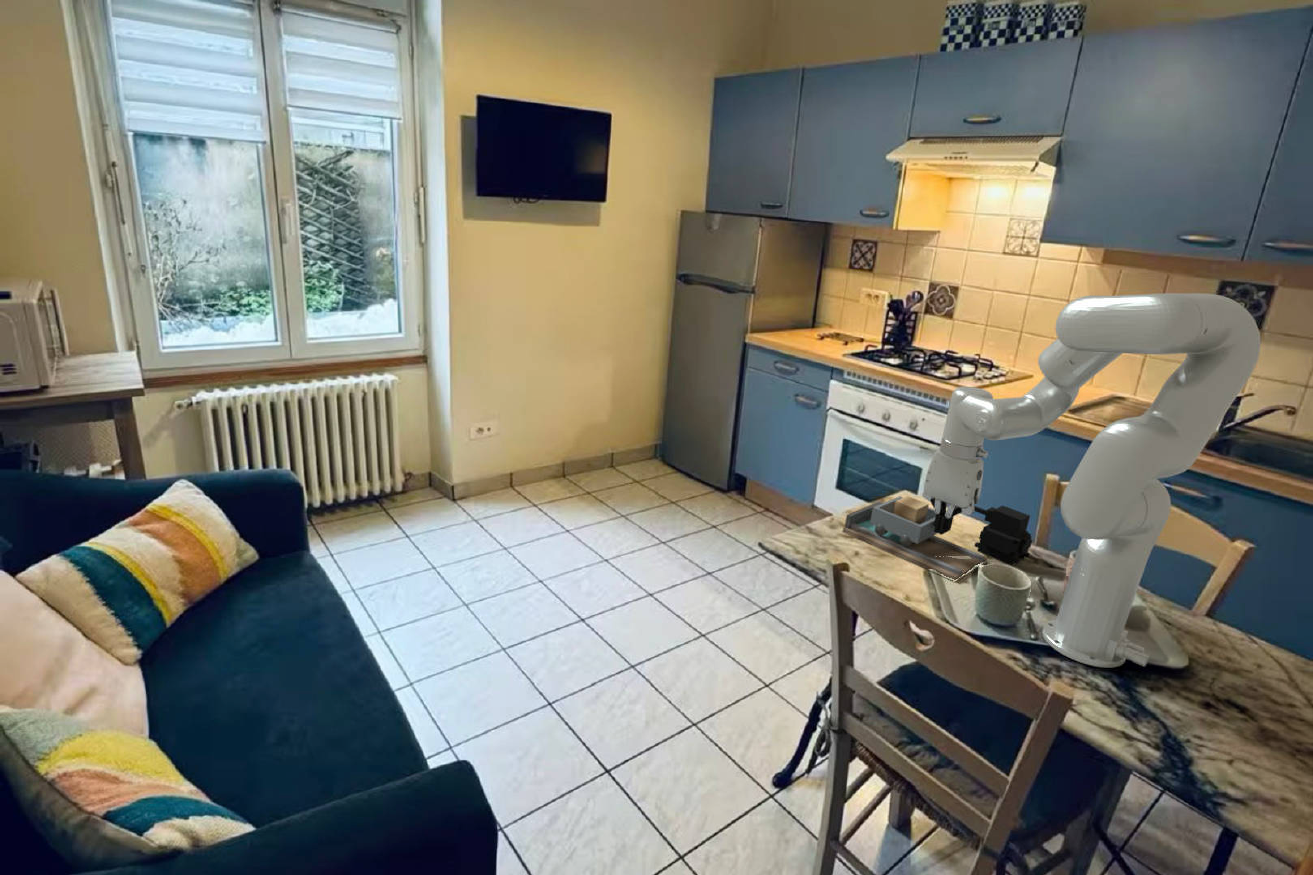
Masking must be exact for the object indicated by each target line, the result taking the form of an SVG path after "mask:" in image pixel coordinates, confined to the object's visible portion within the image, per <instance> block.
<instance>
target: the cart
mask: <svg viewBox="0 0 1313 875" xmlns="http://www.w3.org/2000/svg"><path fill="white" fill-rule="evenodd" d="M902 498H904V497H903V496H897V497H895V498H892V499H888V500H887V501H885V502H881V503H882V504H880V505H878V506H875V507H873V510H872V515H871V521H870V524H872V525H875V526H876V527H875V532H876V533H877V534H878V535H880V536H882V535H884V534H886V533H887V532H888V531H889V532H891V533H894V534H896V535H898V536H901V538H900V542H901V544H902V545H903V546H905V547H908V546H910V545H912V544H913V542H915V543H917V544H918V543H920V542H922V541H924V540H926V539H928V538H930V537H932V536H933V535H934V536H936V535H938V533H936V532H934V529H935V526H934V521H935V517H936V513H935V512H934V508H933V507H929V506H928V510H927V515H926V520H925V522H924V523H922V524H920V525H919V524H917V523H914V522H912V521H909V520H907V519H904V518H902V517H900V516H897V515H895V514H893V512H894V507H895V502H896V501H897V500H899V499H902Z"/></svg>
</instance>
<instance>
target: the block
mask: <svg viewBox="0 0 1313 875" xmlns="http://www.w3.org/2000/svg"><path fill="white" fill-rule="evenodd" d="M929 505H930V504H929V503H927V502H926V501H925V502H924V501H922V500H919V499H916V498H914V497H911V496H909V495H906V496H904V497H903V498H902V499H899V500H897V501H896V502H895V507H894V512H893V514H895V515H897V516H900V517H902V518H904V519H907V520H909V521H912V522H914V523H917V524H919V525H920V524H922V523H924V522H925V520H926V515H927V510H928V507H929Z"/></svg>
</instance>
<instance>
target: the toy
mask: <svg viewBox="0 0 1313 875" xmlns="http://www.w3.org/2000/svg"><path fill="white" fill-rule="evenodd" d="M974 512H976V513H977V514H978V513H979V514H981V515H982V516H983V515H984V521H986V522H988V523H989V524H987V525H984V526H983V527H982V530H981V531H980V533H979V537H978V539H979V541H976V542H975V544H974V547H975V548H977V553H978V552H979V554H982V555H984V556H985V555H986V556H988V557H990V558H992V559H995V560H998V561H1000V562H1002V563H1004V564H1007V565H1009V564H1010V565H1009V566H1011V565H1013V566H1014V565H1018V564H1020V560H1024V559H1025V558H1026V559H1028V558H1029V557H1030V555H1031V553H1030V552H1029V549H1030V548H1031V547H1032V543H1033V540H1032V536H1031V535H1032V534H1031V533H1029V531H1028V530H1027V528H1028V525H1029V521H1030V517H1031V515H1029V514H1027V513H1024V512H1021V511H1018V510H1016V509H1013V508H1010V507H1008V506H1004V505H1001V506H999V507H997V508H995V507H993V506H992V507H990V508H988V509H985V508H982V507H979V506H976V505H974Z"/></svg>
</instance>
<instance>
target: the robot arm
mask: <svg viewBox="0 0 1313 875" xmlns="http://www.w3.org/2000/svg"><path fill="white" fill-rule="evenodd" d="M1054 329H1055V335H1056V337H1057V338H1056V339H1055V340H1054V341H1053V342H1052V343H1051V344H1049V345H1048V346H1047V347H1046V348H1045V349H1043V351H1041V353H1039V356H1038V360H1037V363H1038V367H1039V369H1040V371H1041V373H1042V374H1043V376H1044V377H1043V378H1042V379H1041V380H1040V381H1039V382H1038V383H1037V384H1036V385H1035V386H1033V388H1031V389H1030V390H1029V391H1028V392H1026V393H1025V394H1024V395H1022V396H1019V397H1016V396H1015V397H1007V398H994V396H993V394H992V393H991V392H990V391H989V390H986V389H983V388H979V387H974V386H958V387H957V388H955V389H954V390H953V392H952V393H951V398H950V401H949V406H948V410H947V414H946V420H945V424H944V428H943V432H942V438H941V441H940V446H939V448H937V449H936V450H935V453H934V454H933V457H932V459H931V461H930V463H929V466H928V470H927V472H926V475H925V479H924V482H923V492H922V494H921V496H922V498H923V499H925V500H927V501H928V502H930V504H931V505H932V508H933V509H934V512H935V513H936V517H935V521H934V526H935V529H934V532H936V533H937V534H939V535H940V536H941V535H944V534H945V533H946V534H947V533H948V532H950V530H951V529H952V525H953V521H954V517H955V516H957V515H959V514H961V515H966V516H967V515H968V516H971V515H973V514H974V513H975V511H974V506H975V505H977V504H978V503H979V500H980V497H981V491H982V486H983V485H982V484H983V478H984V460H983V458H984V459H986V458H988V454H989V452H988V451H986V450H985V449H984V440H988V441H989V440H990V441H999V440H1001V441H1002V440H1007V439H1008V440H1009V439H1016V438H1023V437H1030V436H1033V435H1035V434H1039V432H1040V433H1041V432H1042V431H1043V430H1044V429H1046V428H1047V427H1049V426H1050V425H1051V424H1053V423H1054V422H1055V421H1057V420H1058V419H1059V418H1060V417H1061V416H1063V415H1064V414H1065V413H1066V412H1067V411H1068V410H1069V409H1070V408H1071V406H1073V403H1074V402H1075V401H1076V398H1077V397H1078V396H1079V395H1078V394H1079V392H1080V389H1081V388H1082V387H1083V386H1084V385H1085V384H1086V383H1087V382H1089V381H1090V380H1091V379H1093V378H1094V377H1096V375H1097V374H1098V373H1100V372H1101V371H1102V370H1104V369H1105V367H1107V366H1109V364H1111V363H1112V362H1113V361H1115V360H1116V359H1118V358H1119V357H1120V356H1121V355H1122V354H1135V355H1136V354H1138V355H1178V354H1180V355H1181V354H1186V357H1185V358H1184V360H1183V362H1182V363H1180V365H1179V366H1178V367H1177V368H1176V369H1175V370H1174V371H1173V372H1172V373H1171V374H1170V375H1169V377H1168V378H1167V379H1166V381H1165V382H1164V383H1163V385H1162V387H1161V389H1160V390H1159V392H1158V393H1157V396H1156V397H1155V399H1154V400H1153V402H1152V403H1151V405H1150V406H1149V407H1148V409H1147V410H1146V411H1145V412H1144V413H1142V415H1139V416H1132V417H1126V418H1122V419H1119V420H1116V421H1113V422H1112V423H1110V424H1108V425H1106V427H1104V428H1103V429H1102V430H1101V431H1099V432H1098V434H1097V435H1096V436H1095V437H1094V438H1093V440H1092V442H1091V443H1090V445H1089V447H1088V449H1087V450H1086V452H1085V454H1084V456H1083V457H1082V459H1081V461H1080V463H1079V464H1078V466H1077V468H1076V470H1074V473H1073V475H1072V476H1071V477H1070V480H1069V481H1068V484H1067V485H1066V486H1065V489H1064V492H1063V494H1062V496H1061V501H1060V513H1061V517H1062V519H1063V522H1064V524H1065V525H1066V527H1067V529H1069V531H1070V532H1071V533H1072V534H1075V535H1076V536H1078V537H1080V538H1081V539H1080V542H1079V545H1078V548H1077V550H1076V555H1075V557H1074V559H1073V560H1074V561H1073V564H1072V567H1071V571H1070V574H1069V577H1068V580H1067V583H1066V584H1067V585H1066V587H1065V591H1064V594H1063V598H1062V599H1061V600H1062V601H1061V603H1060V607H1059V610H1058V614H1057V617H1056V619H1052V620H1049V621H1047V622H1046V623H1045V624H1044V625H1043V628H1042V633H1041V634H1042V636H1043V639H1044V640H1045V642H1046V643H1048V644H1049V646H1050V647H1051V648H1053V649H1054V650H1055V651H1057V652H1059V653H1060V654H1061V655H1063V656H1065V657H1067V658H1070V659H1071V660H1073V661H1076V662H1079V663H1082V664H1085V665H1088V666H1092V667H1098V668H1107V669H1108V668H1116V667H1120V666H1122V665H1123V664H1125V662H1126V660H1130V661H1132V663H1134V664H1137V665H1139V666H1141V667H1146V666H1147V663H1148V661H1149V659H1150V655H1148V654H1146V653H1144V652H1145V647H1142V646H1140V645H1138V644H1135V643H1133V642H1130V640H1129V639H1128V638H1127V636H1128V633H1129V631H1128V630H1126V629H1125V626H1126V625H1127V621H1128V618H1129V615H1130V612H1131V609H1132V606H1133V603H1134V601H1135V597H1136V594H1137V592H1138V588H1139V585H1140V583H1141V581H1142V580H1141V579H1142V577H1143V574H1144V571H1145V569H1146V565H1147V562H1148V561H1149V560H1148V559H1149V557H1150V555H1151V553H1152V551H1153V548H1154V547H1155V544H1156V542H1157V541H1158V538H1159V536H1160V535H1161V533H1162V532H1163V529H1165V527H1166V526H1165V525H1166V524H1167V521H1168V519H1169V517H1170V514H1171V507H1172V506H1171V505H1172V502H1171V497H1170V494H1169V492H1168V490H1167V488H1166V486H1165V485H1164V484H1163V483H1162V482H1161V481H1160V480H1159V479H1163V478H1164V479H1165V478H1169V477H1172V476H1176V475H1179V474H1182V473H1184V472H1186V471H1187V470H1188V469H1190V468H1191V467H1192V466H1193V465H1194V463H1195V462H1196V460H1197V459H1198V457H1199V455H1200V454H1201V453H1202V451H1203V449H1204V448H1205V446H1206V445H1207V443H1208V442H1209V440H1210V439H1211V437H1212V436H1213V434H1214V433H1215V431H1216V429H1217V428H1218V427H1219V425H1220V423H1221V422H1222V421H1223V419H1224V417H1225V416H1226V414H1227V412H1228V410H1229V409H1230V407H1231V405H1232V404H1233V402H1234V401H1235V399H1236V398H1237V397H1238V395H1239V394H1240V392H1241V391H1242V389H1243V388H1244V387H1245V385H1246V383H1247V382H1248V381H1249V379H1250V377H1251V375H1252V374H1253V372H1254V369H1255V368H1256V365H1257V363H1258V361H1259V356H1260V352H1261V346H1262V345H1261V343H1262V342H1261V334H1260V330H1259V328H1258V325H1257V322H1256V320H1255V319H1254V318H1253V316H1252V314H1251V312H1249V311H1248V310H1247V309H1246V308H1245V307H1244V306H1243V305H1242V304H1240V303H1239V302H1237V301H1235V300H1233V299H1231V298H1230V297H1226V296H1224V295H1221V294H1220V295H1219V294H1213V293H1199V292H1198V293H1182V292H1181V293H1176V292H1173V293H1164V292H1163V293H1162V292H1161V293H1146V294H1145V293H1142V294H1122V295H1084V296H1081V297H1078V298H1075V299H1073V300H1072V301H1070V302H1069V303H1068V304H1066V305H1065V306H1064V307H1063V309H1062V310H1061V311H1060V312H1059V314H1058V316H1057V318H1056V321H1055V328H1054ZM947 504H948V507H947Z"/></svg>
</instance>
